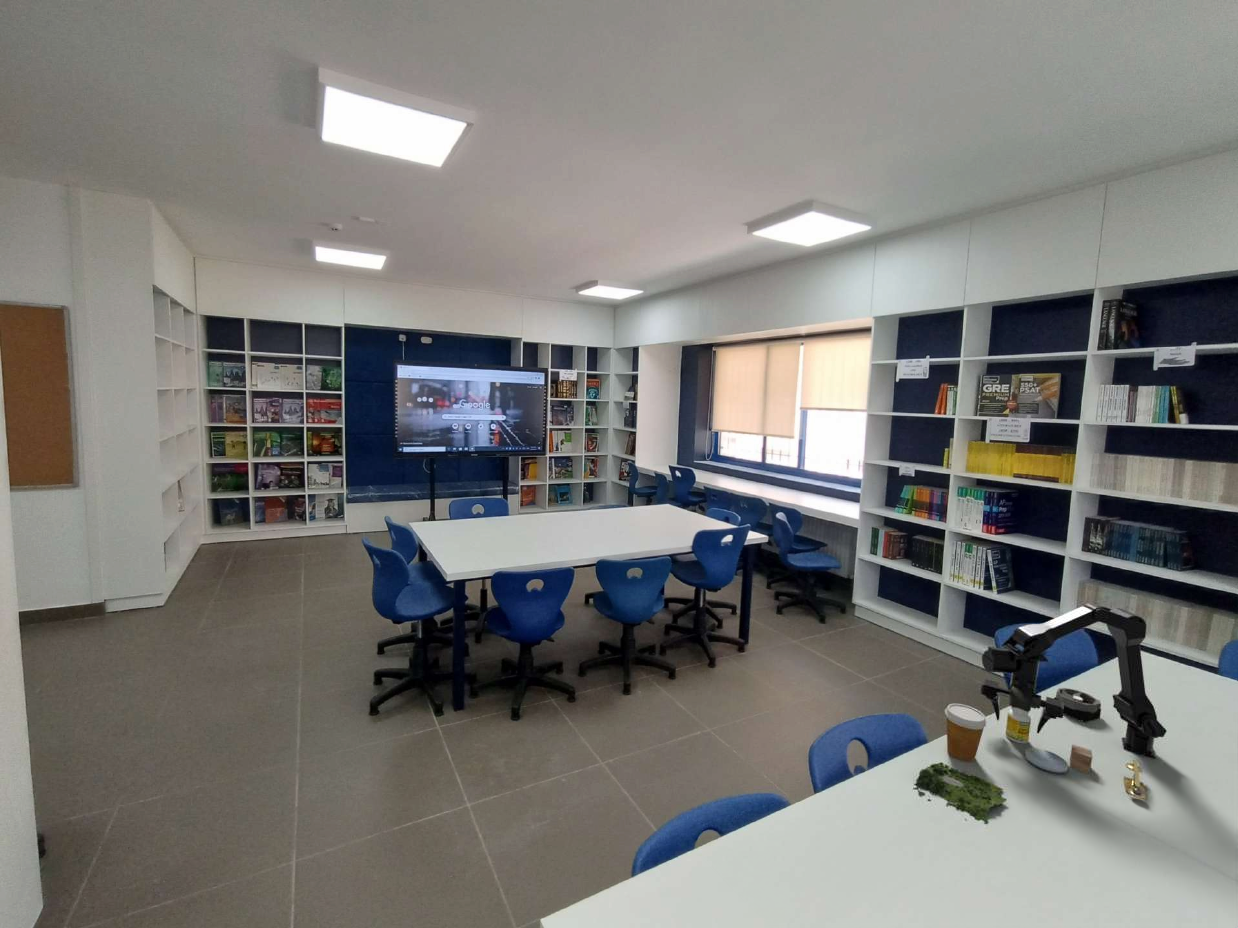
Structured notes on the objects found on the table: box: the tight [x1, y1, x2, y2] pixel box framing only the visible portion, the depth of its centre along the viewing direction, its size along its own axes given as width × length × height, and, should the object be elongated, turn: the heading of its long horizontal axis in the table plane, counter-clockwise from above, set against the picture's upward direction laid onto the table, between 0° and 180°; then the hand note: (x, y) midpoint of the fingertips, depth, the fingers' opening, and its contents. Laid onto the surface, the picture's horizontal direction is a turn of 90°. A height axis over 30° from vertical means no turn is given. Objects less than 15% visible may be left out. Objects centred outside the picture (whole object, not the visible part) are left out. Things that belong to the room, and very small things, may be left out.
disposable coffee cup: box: [944, 703, 987, 763], centre depth 150 cm, size 10×10×12 cm
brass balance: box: [1123, 759, 1147, 800], centre depth 140 cm, size 13×4×5 cm, turn 142°
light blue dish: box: [1024, 747, 1069, 774], centre depth 148 cm, size 9×9×2 cm
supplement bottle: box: [1005, 706, 1032, 744], centre depth 159 cm, size 5×5×10 cm
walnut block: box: [1069, 743, 1093, 774], centre depth 148 cm, size 4×4×4 cm
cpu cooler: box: [1053, 687, 1102, 723], centre depth 175 cm, size 10×6×10 cm
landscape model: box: [912, 762, 1007, 824], centre depth 135 cm, size 17×21×5 cm
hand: (1017, 726), depth 159 cm, fingers open, 9 cm apart
